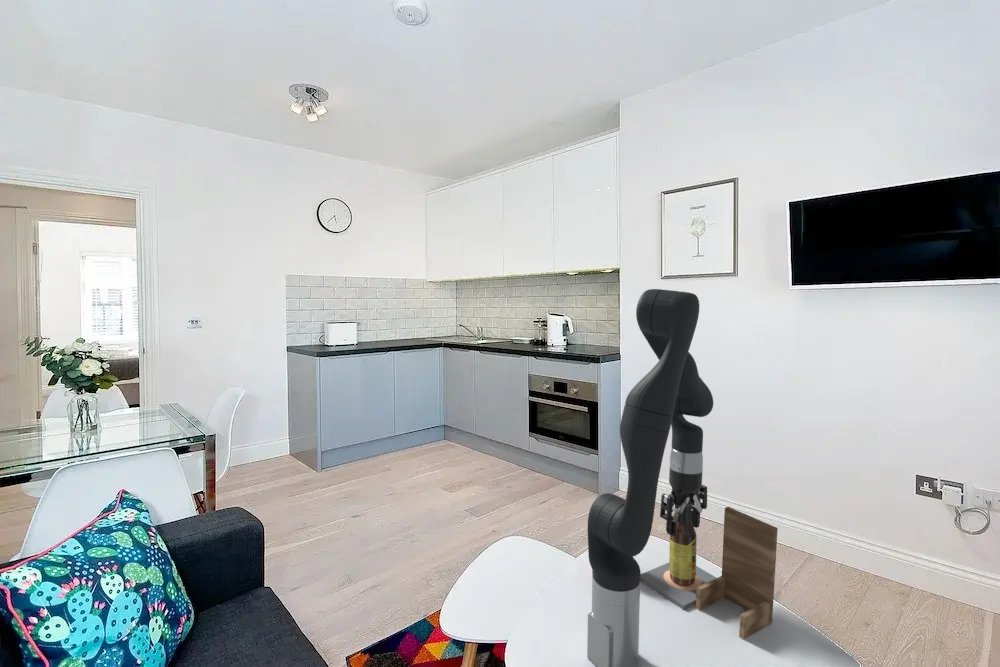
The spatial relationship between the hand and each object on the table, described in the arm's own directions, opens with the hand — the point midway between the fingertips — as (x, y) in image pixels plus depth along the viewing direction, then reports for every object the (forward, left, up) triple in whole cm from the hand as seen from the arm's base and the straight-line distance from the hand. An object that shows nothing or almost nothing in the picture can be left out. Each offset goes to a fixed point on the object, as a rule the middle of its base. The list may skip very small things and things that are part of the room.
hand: (683, 530), depth 125 cm
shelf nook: (0, -14, -14) cm, 20 cm away
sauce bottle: (0, 0, -13) cm, 13 cm away
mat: (0, 0, -14) cm, 14 cm away
